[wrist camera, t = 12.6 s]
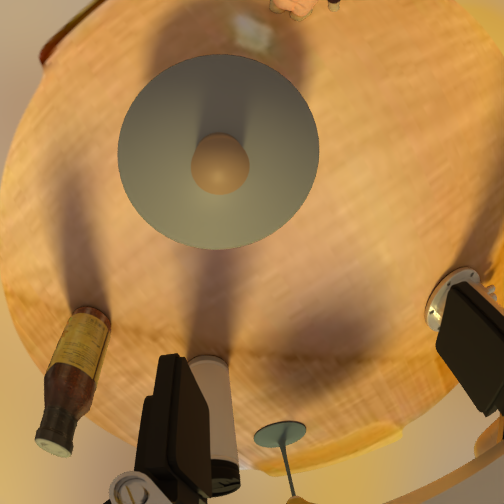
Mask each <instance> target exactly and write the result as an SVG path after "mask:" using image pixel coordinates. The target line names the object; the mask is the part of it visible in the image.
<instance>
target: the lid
mask: <svg viewBox="0 0 504 504" xmlns="http://www.w3.org/2000/svg"><path fill="white" fill-rule="evenodd" d="M318 162H319V138H318V133H317V128H316V124H315V121H314V118H313V115H312V113H311V111H310V109H309V107H308V105H307V103H306V101H305V100H304V98H303V97H302V95H301V94H300V93H299V91H298V90H297V89H296V88H295V87H294V86H293V85H292V84H291V82H290V81H288V80H287V79H286V78H285V77H284V76H282V75H281V74H280V73H279V72H277V71H275V70H274V69H272V68H270V67H269V66H267V65H265V64H262V63H260V62H258V61H255V60H252V59H249V58H245V57H241V56H234V55H207V56H200V57H196V58H192V59H189V60H185V61H183V62H181V63H178V64H176V65H174V66H172V67H170V68H168V69H167V70H165V71H163V72H162V73H160V74H159V75H158V76H156V77H155V78H154V79H153V80H151V81H150V82H149V83H148V84H147V85H146V86H145V87H144V88H143V90H142V91H141V92H140V93H139V94H138V96H137V97H136V98H135V100H134V101H133V103H132V104H131V106H130V108H129V110H128V112H127V114H126V116H125V119H124V122H123V124H122V127H121V131H120V136H119V141H118V167H119V172H120V177H121V181H122V184H123V187H124V189H125V192H126V194H127V196H128V198H129V200H130V202H131V203H132V205H133V206H134V208H135V209H136V211H137V212H138V213H139V214H140V215H141V217H142V218H143V219H144V220H145V221H146V222H147V223H148V224H149V225H151V226H152V227H153V228H154V229H155V230H157V231H158V232H160V233H161V234H163V235H164V236H166V237H168V238H170V239H172V240H174V241H176V242H179V243H181V244H184V245H187V246H191V247H196V248H201V249H212V250H219V249H231V248H238V247H241V246H245V245H249V244H252V243H254V242H257V241H259V240H261V239H263V238H265V237H267V236H269V235H271V234H272V233H274V232H275V231H277V230H278V229H279V228H281V227H282V226H283V225H284V224H285V223H287V222H288V221H289V220H290V219H291V218H292V217H293V216H294V214H295V213H296V212H297V211H298V210H299V209H300V207H301V206H302V204H303V203H304V201H305V200H306V198H307V196H308V194H309V192H310V190H311V188H312V185H313V182H314V179H315V177H316V172H317V168H318Z"/></svg>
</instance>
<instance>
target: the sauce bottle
mask: <svg viewBox="0 0 504 504" xmlns="http://www.w3.org/2000/svg"><path fill="white" fill-rule="evenodd" d="M110 333H111V325H110V321H109V320H108V318H107V317H106V316H105V315H104V314H103V313H102V312H101V311H99V310H97V309H95V308H93V307H88V306H87V307H80V308H78V309H77V310H76V311H75V312H73V314H72V316H71V317H70V318H69V320H68V322H67V325H66V327H65V329H64V331H63V333H62V336H61V338H60V340H59V342H58V344H57V347H56V350H55V351H54V354H53V356H52V359H51V361H50V364H49V366H48V369H47V371H46V374H45V377H44V401H45V409H44V414H43V418H42V421H41V424H40V428H38V430H37V431H36V436H35V441H36V444H37V445H38V446H39V447H40V448H42V449H43V450H45V451H47V452H49V453H51V454H53V455H56V456H59V457H65V458H67V457H70V456H71V454H72V451H73V442H72V441H73V436H74V432H75V428H76V426H77V422H78V420H79V419H80V418H81V417H82V416H83V415H85V414H86V413H87V412H88V411H89V410H90V407H91V405H92V400H93V396H94V392H95V391H96V388H97V384H98V380H99V376H100V372H101V368H102V365H103V361H104V358H105V354H106V350H107V347H108V343H109V340H110Z"/></svg>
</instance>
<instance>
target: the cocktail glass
mask: <svg viewBox="0 0 504 504" xmlns="http://www.w3.org/2000/svg"><path fill="white" fill-rule="evenodd" d="M305 433H306V428H305V426H304V425H302V424H300V423H297V422H280V423H275V424H272V425H269V426H266V427H264V428H262V429H261V430H259V431H258V432H257V433H256V434H255V436H254V441H255V443H256V444H258V445H259V446H262V447H270V448H273V447H280V449H281V452H282V455H283V459H284V463H285V467H286V471H287V475H288V480H289V484H290V488H291V493H292V497H291V498H290V499H289V500H288V501H287V503H286V504H314V503H310V502H307V501H306V500H304V499H303V498H301V497H299V496H296V495H295V491H294V487H293V483H292V478H291V474H290V469H289V464H288V460H287V455H286V445H289V444H292V443H294V442H296V441H298V440H299V439H301V438H302V437H303V436H304V435H305Z"/></svg>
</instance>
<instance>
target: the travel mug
mask: <svg viewBox="0 0 504 504" xmlns="http://www.w3.org/2000/svg"><path fill="white" fill-rule="evenodd" d="M188 365H189V367H190V369H191V371H192V373H193V375H194V377H195V379H196V382H197V384H198V386H199V388H200V390H201V392H202V394H203V396H204V398H205V400H206V402H207V404H208V407H209V414H210V452H211V477H212V497H219V496H223V495H227V494H230V493H233V492H235V491H236V490H237V489H239V488H240V486H241V485H240V474H239V464H238V462H239V461H238V452H237V444H236V436H235V427H234V418H233V409H232V399H231V390H230V380H229V369H228V365H227V364H226V363H225V361H223V360H222V359H220V358H218V357H215V356H210V355H203V356H198V357H196V358H193V359H192V360H191V361H190V362H189V363H188Z"/></svg>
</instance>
